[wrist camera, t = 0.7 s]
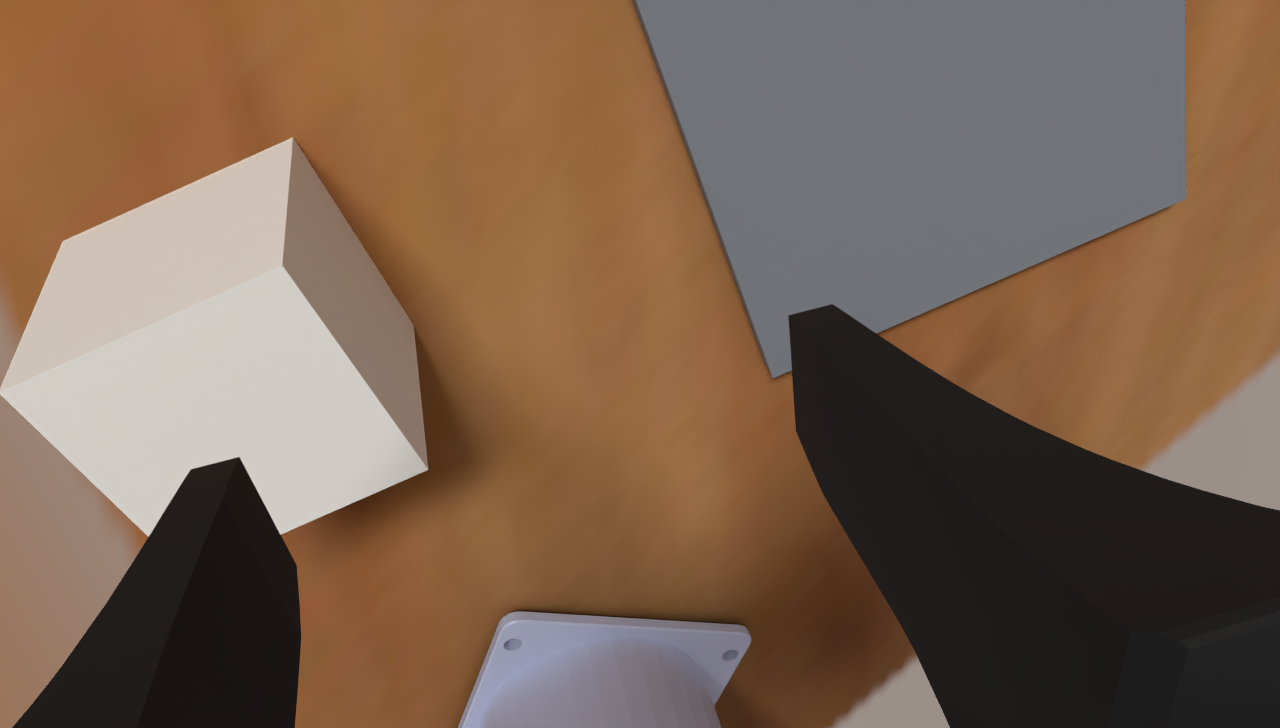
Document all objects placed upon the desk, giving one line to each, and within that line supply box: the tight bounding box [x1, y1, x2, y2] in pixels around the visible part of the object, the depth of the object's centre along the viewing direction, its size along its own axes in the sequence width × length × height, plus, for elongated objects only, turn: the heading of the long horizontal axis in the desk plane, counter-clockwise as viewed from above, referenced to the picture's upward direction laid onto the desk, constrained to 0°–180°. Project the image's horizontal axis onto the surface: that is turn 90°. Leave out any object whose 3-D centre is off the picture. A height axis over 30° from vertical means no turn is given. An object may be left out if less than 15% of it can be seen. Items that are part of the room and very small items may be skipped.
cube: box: [0, 138, 428, 537], centre depth 20 cm, size 5×5×5 cm
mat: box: [633, 0, 1186, 378], centre depth 22 cm, size 11×11×1 cm
